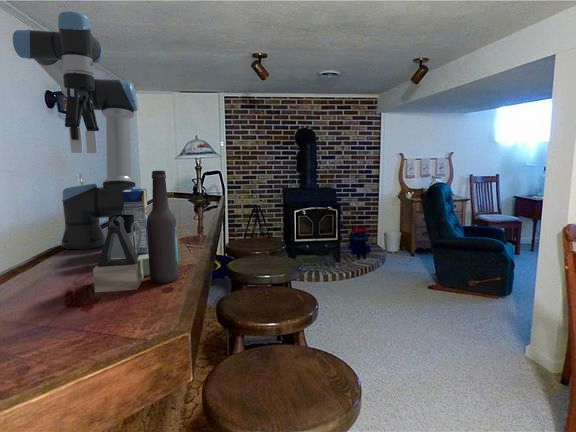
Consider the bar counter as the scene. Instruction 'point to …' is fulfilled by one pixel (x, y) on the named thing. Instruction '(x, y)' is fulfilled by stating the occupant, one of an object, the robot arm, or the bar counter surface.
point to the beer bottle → (161, 234)
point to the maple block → (118, 277)
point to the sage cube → (145, 264)
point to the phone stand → (125, 243)
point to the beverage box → (137, 214)
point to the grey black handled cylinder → (130, 229)
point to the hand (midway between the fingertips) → (85, 153)
